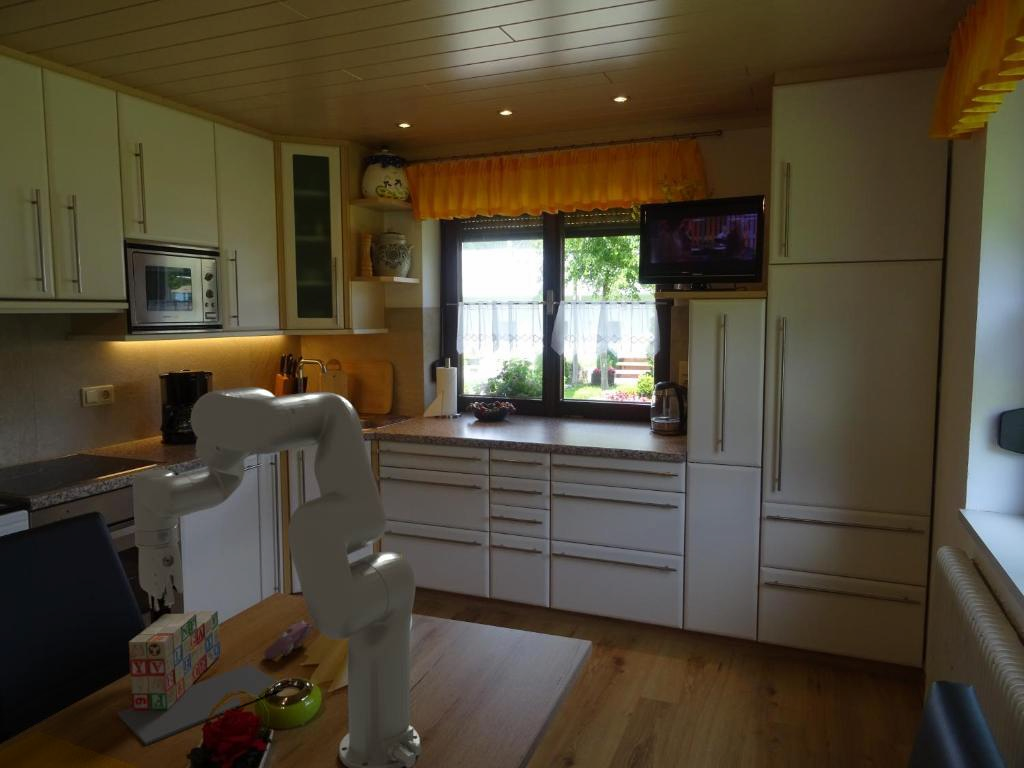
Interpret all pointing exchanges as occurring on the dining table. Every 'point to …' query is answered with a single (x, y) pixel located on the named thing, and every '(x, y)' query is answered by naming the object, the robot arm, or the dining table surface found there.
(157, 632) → the stack of blocks
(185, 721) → the mat
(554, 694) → the dining table surface
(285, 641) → the purple toy animal
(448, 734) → the dining table surface
